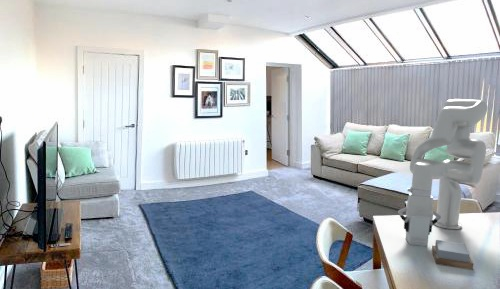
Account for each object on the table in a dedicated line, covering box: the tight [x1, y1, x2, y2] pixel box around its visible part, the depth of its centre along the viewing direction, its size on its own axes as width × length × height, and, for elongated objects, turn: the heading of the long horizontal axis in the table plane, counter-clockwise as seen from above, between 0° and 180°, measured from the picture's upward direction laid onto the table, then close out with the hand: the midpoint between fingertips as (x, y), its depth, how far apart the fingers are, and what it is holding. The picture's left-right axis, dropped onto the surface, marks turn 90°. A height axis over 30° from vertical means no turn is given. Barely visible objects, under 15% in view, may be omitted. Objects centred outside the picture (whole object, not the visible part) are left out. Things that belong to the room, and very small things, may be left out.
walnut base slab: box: [431, 244, 474, 271], centre depth 140 cm, size 12×12×3 cm
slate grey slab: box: [434, 239, 470, 262], centre depth 139 cm, size 10×10×3 cm
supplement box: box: [405, 215, 430, 247], centre depth 155 cm, size 7×7×13 cm
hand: (417, 231), depth 155 cm, fingers closed on supplement box, 7 cm apart
